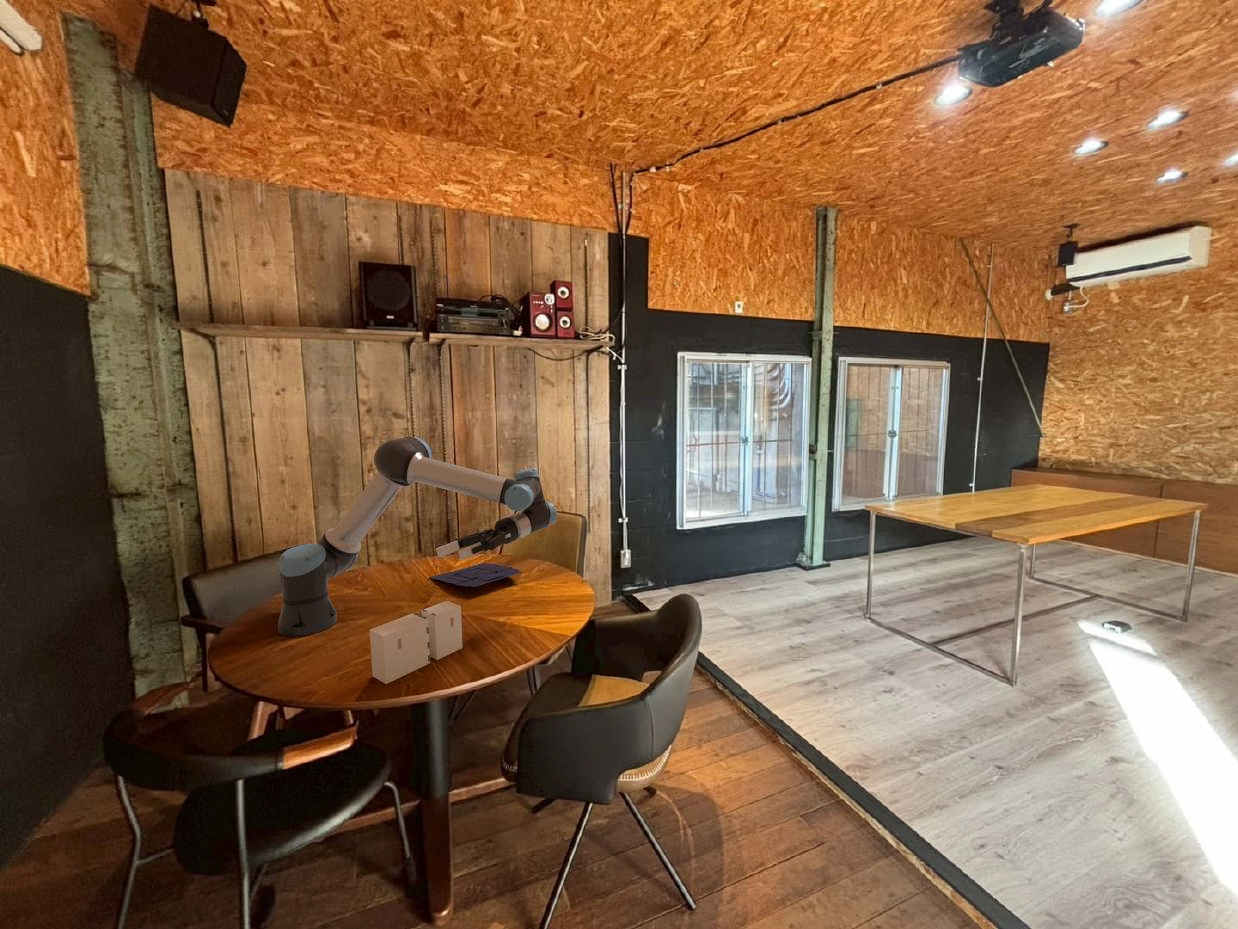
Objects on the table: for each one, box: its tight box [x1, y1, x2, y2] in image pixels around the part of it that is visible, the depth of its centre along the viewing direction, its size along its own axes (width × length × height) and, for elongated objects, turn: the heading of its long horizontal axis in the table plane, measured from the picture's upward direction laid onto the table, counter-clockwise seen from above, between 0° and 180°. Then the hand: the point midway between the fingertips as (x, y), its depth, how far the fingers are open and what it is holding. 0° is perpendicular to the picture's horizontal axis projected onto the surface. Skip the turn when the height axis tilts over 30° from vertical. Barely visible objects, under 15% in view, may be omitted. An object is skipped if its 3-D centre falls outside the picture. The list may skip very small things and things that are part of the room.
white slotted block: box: [369, 612, 431, 685], centre depth 128 cm, size 6×12×12 cm, turn 144°
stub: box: [420, 600, 464, 661], centre depth 138 cm, size 6×8×12 cm
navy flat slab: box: [429, 562, 524, 588], centre depth 192 cm, size 24×30×4 cm
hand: (448, 554), depth 141 cm, fingers open, 13 cm apart
